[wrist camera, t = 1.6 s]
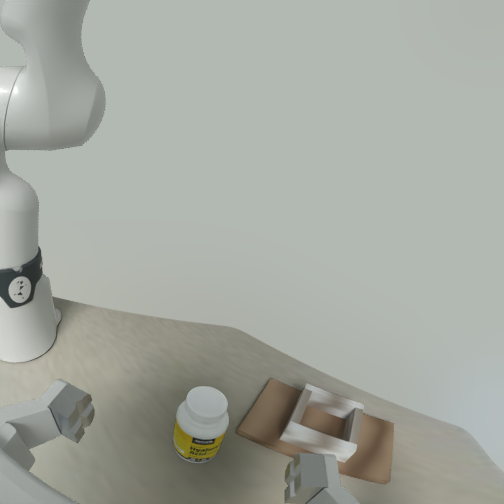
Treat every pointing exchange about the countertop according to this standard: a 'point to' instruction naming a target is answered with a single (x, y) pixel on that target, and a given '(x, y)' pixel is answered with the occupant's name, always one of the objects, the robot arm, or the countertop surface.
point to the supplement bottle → (200, 424)
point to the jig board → (321, 429)
